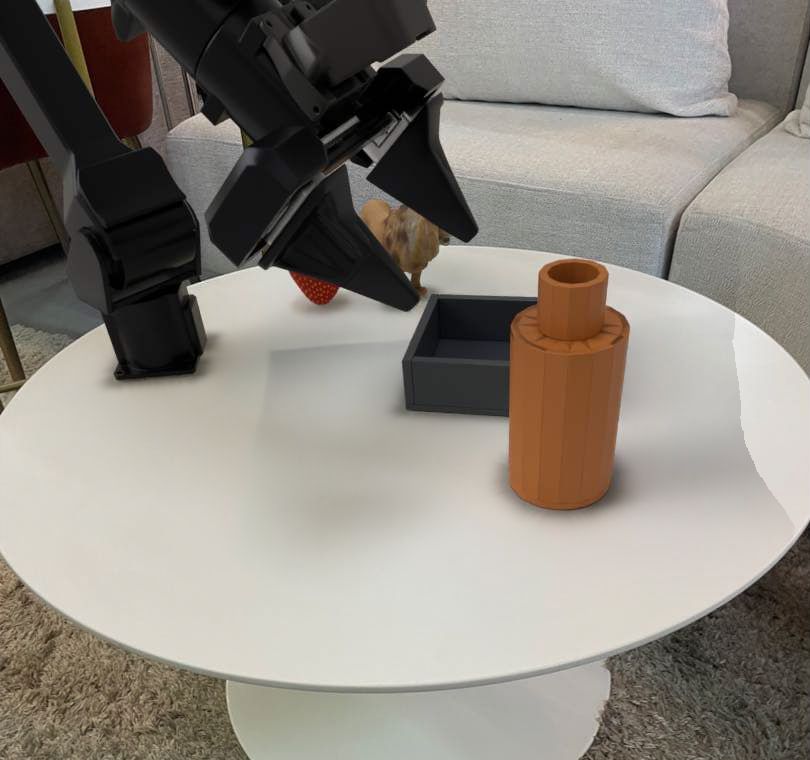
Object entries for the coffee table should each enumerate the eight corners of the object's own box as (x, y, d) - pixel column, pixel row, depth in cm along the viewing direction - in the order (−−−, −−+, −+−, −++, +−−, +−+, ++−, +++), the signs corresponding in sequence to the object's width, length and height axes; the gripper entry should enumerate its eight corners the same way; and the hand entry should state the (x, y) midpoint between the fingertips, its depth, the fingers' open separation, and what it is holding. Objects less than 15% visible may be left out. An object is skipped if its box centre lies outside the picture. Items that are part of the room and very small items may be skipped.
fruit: (283, 313, 71) (267, 221, 66) (307, 287, 75) (293, 199, 69) (340, 318, 70) (327, 225, 64) (361, 291, 73) (351, 201, 68)
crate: (405, 410, 58) (401, 360, 55) (433, 339, 66) (431, 293, 63) (551, 419, 56) (554, 368, 53) (563, 345, 63) (566, 297, 61)
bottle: (516, 513, 49) (521, 304, 40) (502, 452, 53) (505, 253, 44) (621, 505, 49) (650, 293, 40) (598, 445, 53) (619, 243, 44)
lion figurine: (465, 303, 70) (463, 197, 64) (414, 322, 68) (407, 214, 62) (376, 253, 79) (367, 156, 73) (329, 268, 77) (316, 170, 71)
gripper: (197, -86, 29) (491, 241, 33) (399, -128, 42) (595, 112, 45) (97, 139, 37) (342, 383, 41) (291, 47, 50) (466, 240, 53)
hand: (446, 269), depth 45 cm, fingers open, 9 cm apart
